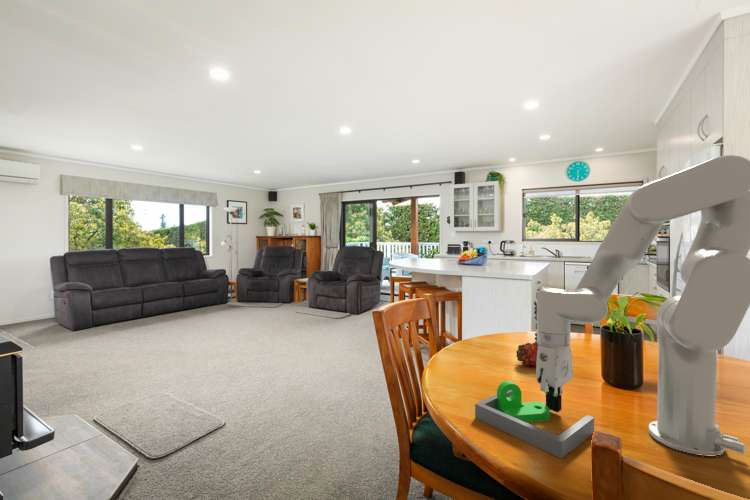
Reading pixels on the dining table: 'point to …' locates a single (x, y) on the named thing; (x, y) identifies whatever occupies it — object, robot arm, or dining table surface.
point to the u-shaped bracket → (534, 428)
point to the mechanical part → (520, 404)
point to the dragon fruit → (527, 354)
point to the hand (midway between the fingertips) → (553, 409)
